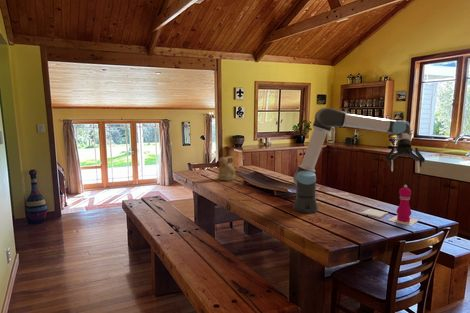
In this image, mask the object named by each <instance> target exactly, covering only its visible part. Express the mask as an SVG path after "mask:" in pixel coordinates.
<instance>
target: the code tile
mask: <svg viewBox="0 0 470 313" xmlns="http://www.w3.org/2000/svg"><path fill="white" fill-rule="evenodd" d="M397 216H398V214H397V215H394V216H392V217H391V218H389V219H387V221H389V222H393V223H396V224H401V225H406V226H410V227H411V226H413V225H415V224H416V223H418V222H419V221H420V220H419V219H416V218H411V217H410V221H409V222H402V221H399V220H397Z"/></svg>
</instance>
